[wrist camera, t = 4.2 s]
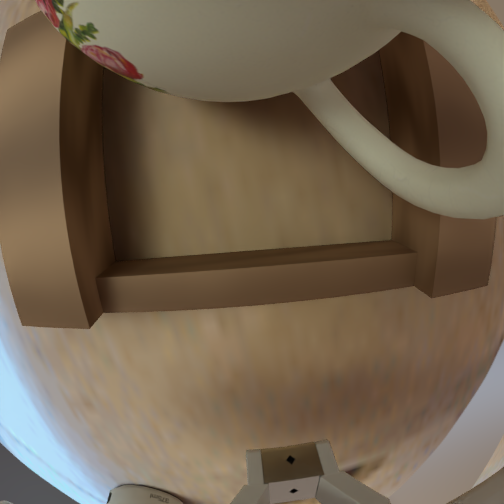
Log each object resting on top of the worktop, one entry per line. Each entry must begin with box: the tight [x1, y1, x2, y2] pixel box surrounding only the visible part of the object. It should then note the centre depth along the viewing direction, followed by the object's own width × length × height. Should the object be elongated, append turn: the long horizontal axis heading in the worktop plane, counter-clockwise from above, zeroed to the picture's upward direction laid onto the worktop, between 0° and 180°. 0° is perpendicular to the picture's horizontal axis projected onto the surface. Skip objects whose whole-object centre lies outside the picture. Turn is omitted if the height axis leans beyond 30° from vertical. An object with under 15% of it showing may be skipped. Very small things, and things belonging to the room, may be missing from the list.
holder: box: [0, 11, 496, 329], centre depth 10 cm, size 14×22×4 cm, turn 94°
